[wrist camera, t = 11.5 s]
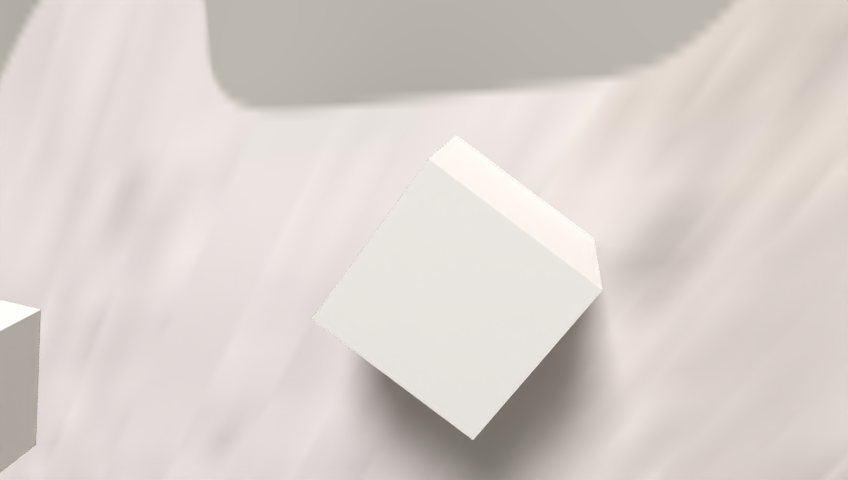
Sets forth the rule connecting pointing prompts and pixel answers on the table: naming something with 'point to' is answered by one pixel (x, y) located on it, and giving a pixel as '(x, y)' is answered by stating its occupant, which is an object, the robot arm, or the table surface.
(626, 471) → the table surface
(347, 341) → the light grey cube
